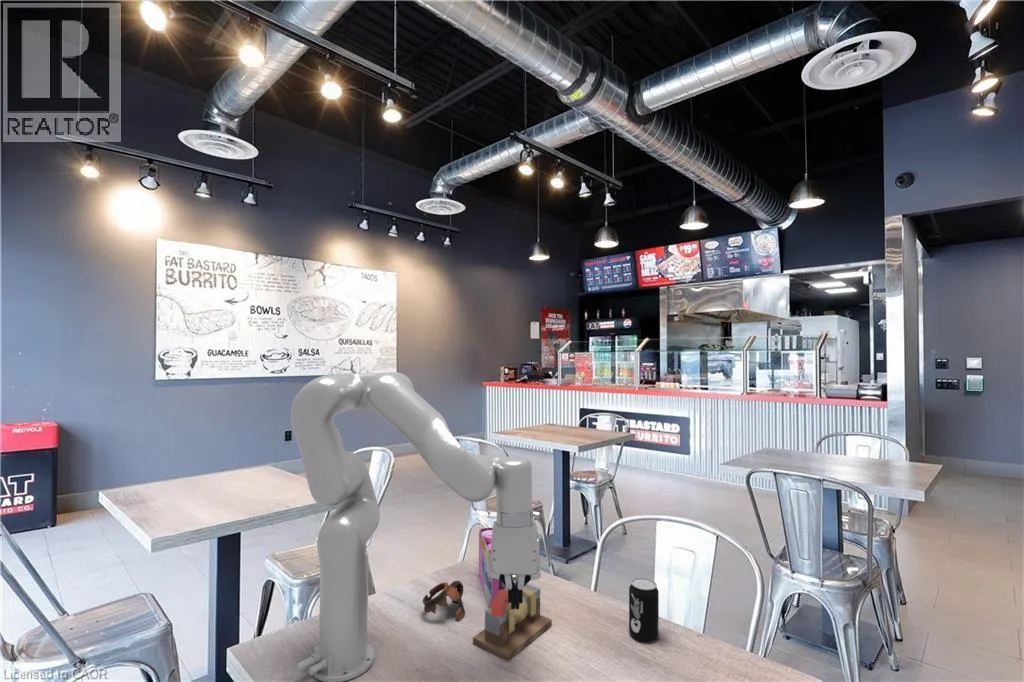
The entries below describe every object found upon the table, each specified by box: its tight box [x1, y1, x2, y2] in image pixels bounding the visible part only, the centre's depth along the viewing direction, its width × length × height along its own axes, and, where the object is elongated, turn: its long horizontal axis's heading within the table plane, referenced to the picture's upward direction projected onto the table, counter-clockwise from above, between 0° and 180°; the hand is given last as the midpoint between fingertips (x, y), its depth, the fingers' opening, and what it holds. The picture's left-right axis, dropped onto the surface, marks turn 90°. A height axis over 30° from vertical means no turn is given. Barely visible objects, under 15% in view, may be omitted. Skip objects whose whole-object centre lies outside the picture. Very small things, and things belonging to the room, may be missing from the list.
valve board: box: [472, 597, 553, 662], centre depth 112 cm, size 17×10×6 cm, turn 143°
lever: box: [491, 575, 519, 617], centre depth 106 cm, size 16×3×3 cm, turn 165°
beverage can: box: [628, 577, 660, 644], centre depth 112 cm, size 7×7×12 cm
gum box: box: [478, 527, 505, 609], centre depth 131 cm, size 24×8×14 cm, turn 12°
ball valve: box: [484, 583, 541, 636], centre depth 112 cm, size 16×6×8 cm, turn 143°
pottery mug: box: [422, 580, 466, 622], centre depth 122 cm, size 12×10×8 cm
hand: (515, 605), depth 101 cm, fingers closed
